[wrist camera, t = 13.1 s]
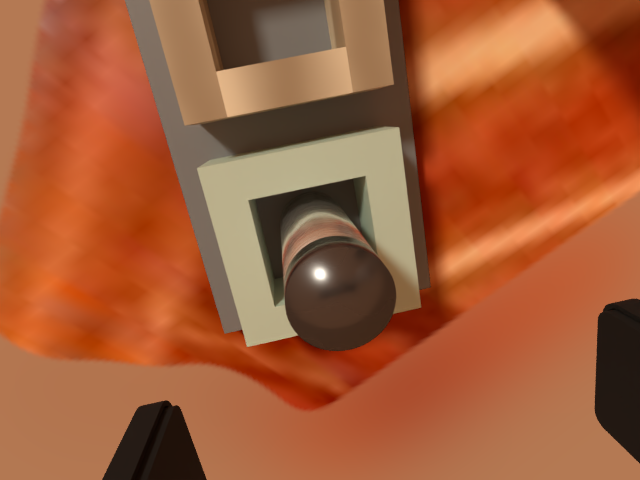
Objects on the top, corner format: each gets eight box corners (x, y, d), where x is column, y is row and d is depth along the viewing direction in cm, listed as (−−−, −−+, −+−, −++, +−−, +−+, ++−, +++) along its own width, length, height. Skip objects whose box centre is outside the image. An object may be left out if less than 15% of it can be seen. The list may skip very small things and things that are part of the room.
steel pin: (338, 185, 24) (388, 236, 14) (349, 247, 25) (402, 337, 15) (273, 199, 24) (273, 261, 13) (287, 260, 25) (297, 361, 15)
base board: (373, -136, 21) (381, -154, 20) (422, 278, 28) (430, 287, 27) (105, -91, 20) (93, -106, 19) (227, 322, 28) (224, 333, 26)
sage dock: (378, 125, 23) (399, 127, 20) (399, 280, 26) (421, 307, 23) (209, 160, 23) (196, 168, 19) (251, 313, 26) (247, 346, 22)
